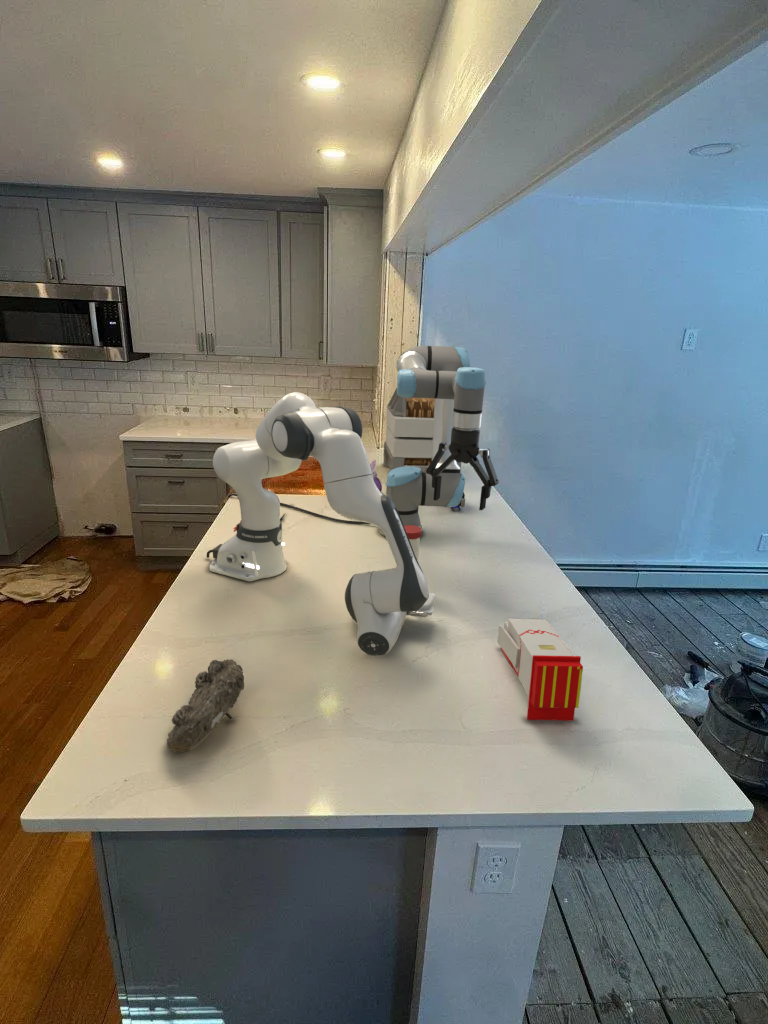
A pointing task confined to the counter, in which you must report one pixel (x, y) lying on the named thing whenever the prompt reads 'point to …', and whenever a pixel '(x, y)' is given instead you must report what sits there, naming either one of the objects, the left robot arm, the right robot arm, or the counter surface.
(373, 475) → the figurine
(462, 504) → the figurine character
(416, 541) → the jar
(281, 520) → the feather
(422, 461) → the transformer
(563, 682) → the toy
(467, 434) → the right robot arm
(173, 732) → the fossil
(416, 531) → the lid
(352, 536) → the counter surface
